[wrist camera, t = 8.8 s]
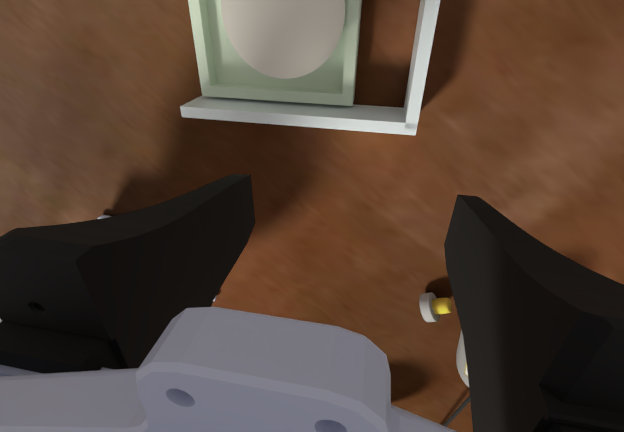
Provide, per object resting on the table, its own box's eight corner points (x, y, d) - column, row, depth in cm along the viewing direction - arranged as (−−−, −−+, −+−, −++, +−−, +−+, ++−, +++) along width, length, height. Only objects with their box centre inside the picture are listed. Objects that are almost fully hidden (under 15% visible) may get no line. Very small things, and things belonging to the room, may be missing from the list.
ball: (229, 71, 19) (231, 93, 15) (212, -56, 16) (209, -80, 12) (327, 66, 20) (358, 85, 15) (328, -55, 17) (367, -76, 13)
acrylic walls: (205, 104, 22) (181, 117, 20) (179, -76, 17) (144, -89, 15) (412, 118, 20) (415, 135, 18) (446, -79, 15) (457, -95, 13)
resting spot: (210, 91, 22) (202, 96, 21) (185, -100, 17) (172, -106, 16) (354, 100, 20) (352, 106, 19) (370, -104, 16) (369, -112, 15)
